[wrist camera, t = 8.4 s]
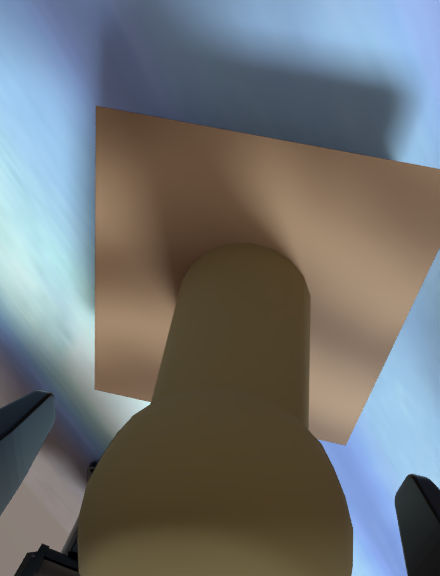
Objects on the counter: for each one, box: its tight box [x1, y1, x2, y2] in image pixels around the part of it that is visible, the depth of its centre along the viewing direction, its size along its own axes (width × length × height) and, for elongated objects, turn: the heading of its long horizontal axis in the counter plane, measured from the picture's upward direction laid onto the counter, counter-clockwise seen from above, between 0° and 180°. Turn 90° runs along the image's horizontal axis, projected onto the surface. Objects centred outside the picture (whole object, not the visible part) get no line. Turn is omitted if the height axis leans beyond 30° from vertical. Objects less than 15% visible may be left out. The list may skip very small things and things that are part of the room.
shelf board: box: [95, 106, 440, 445], centre depth 16 cm, size 14×14×1 cm
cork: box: [77, 243, 353, 576], centre depth 10 cm, size 6×6×11 cm
